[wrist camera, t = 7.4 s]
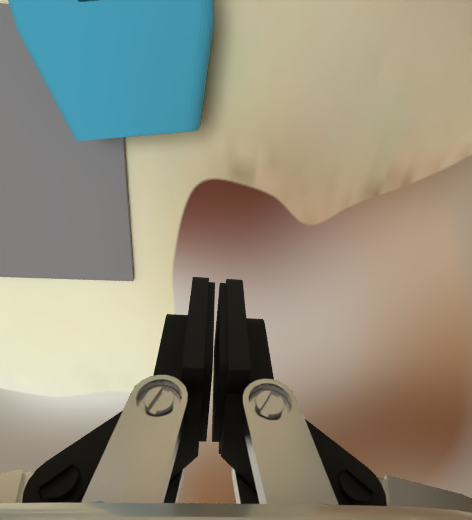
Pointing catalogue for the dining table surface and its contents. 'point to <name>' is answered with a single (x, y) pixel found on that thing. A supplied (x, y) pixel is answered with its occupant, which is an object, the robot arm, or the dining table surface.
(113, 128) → the block
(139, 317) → the dining table surface
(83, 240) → the gray square mat
